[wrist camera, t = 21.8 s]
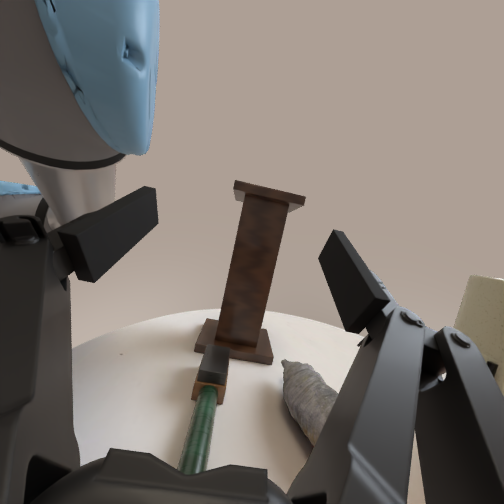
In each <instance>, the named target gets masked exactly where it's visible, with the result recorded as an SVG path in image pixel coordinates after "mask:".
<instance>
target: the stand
mask: <svg viewBox="0 0 504 504" xmlns="http://www.w3.org/2000/svg"><path fill="white" fill-rule="evenodd" d="M233 189H234V194H235V199H236V200H237V201H241V202H243V207H242V212H241V217H240V221H239V226H238V231H237V236H236V241H235V245H234V250H233V255H232V259H231V264H230V269H229V274H228V278H227V283H226V288H225V293H224V297H223V302H222V307H221V312H220V316H219V321H218V320H213V319H208V318H207V319H206V321H205V323H204V326H203V328H202V330H201V333H200V335H199V337H198V339H197V342H196V344H195V349H194V351H195V352H200V353H205V350H206V347H207V344H211V345H216V346H222V347H228V348H230V355H229V358H235V359H241V360H246V361H252V362H258V363H264V364H269V365H272V362H273V358H274V357H273V353H272V349H271V345H270V341H269V337H268V333H267V330H266V329H261V326H262V322H263V317H264V313H265V309H266V304H267V300H268V296H269V291H270V287H271V283H272V278H273V273H274V269H275V265H276V261H277V256H278V252H279V247H280V243H281V239H282V235H283V230H284V226H285V221H286V217H287V213H288V212H291V211H293V210H295V209H298V208H300V207H302V206H304V203H305V199H306V197H305V196H301V195H296V194H292V193H288V192H284V191H280V190H275V189H271V188H267V187H263V186H258V185H254V184H250V183H246V182H242V181H237V180H235V183H234V188H233Z"/></svg>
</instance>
